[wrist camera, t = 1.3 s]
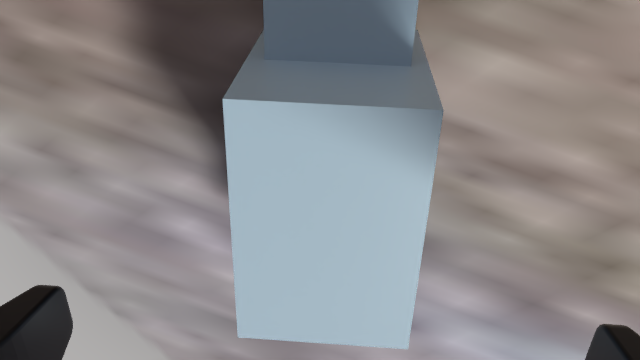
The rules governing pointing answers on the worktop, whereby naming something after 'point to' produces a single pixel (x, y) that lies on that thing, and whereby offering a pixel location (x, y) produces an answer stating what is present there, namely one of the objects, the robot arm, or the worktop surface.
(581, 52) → the worktop surface
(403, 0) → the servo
